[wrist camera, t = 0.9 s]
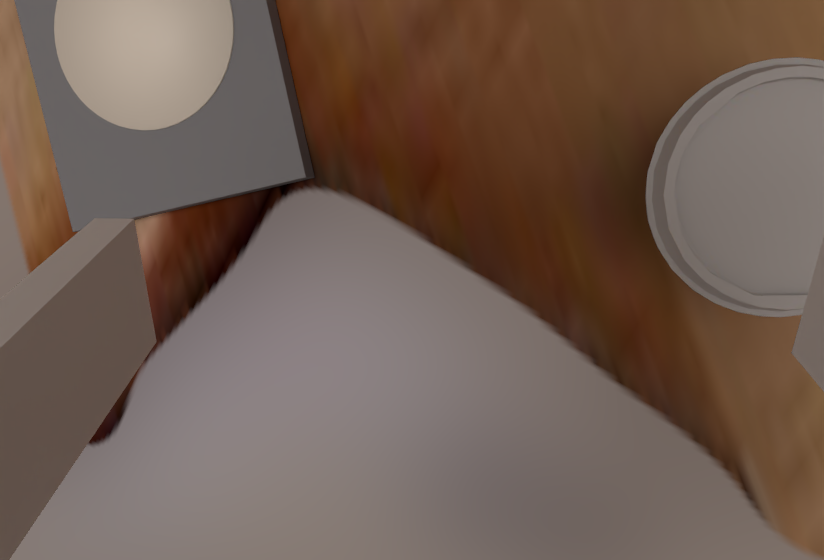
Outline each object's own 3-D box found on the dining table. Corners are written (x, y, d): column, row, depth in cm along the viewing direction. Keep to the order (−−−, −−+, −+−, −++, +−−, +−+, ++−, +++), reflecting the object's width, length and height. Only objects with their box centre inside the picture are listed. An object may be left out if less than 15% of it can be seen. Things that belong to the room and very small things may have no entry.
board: (6, -100, 43) (-17, -112, 41) (234, -182, 39) (220, -198, 38) (88, 230, 44) (70, 232, 43) (314, 177, 41) (304, 177, 39)
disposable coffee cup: (587, 227, 39) (601, 245, 27) (681, 62, 37) (739, 3, 25) (751, 313, 37) (840, 370, 26) (856, 147, 36) (1004, 128, 24)
